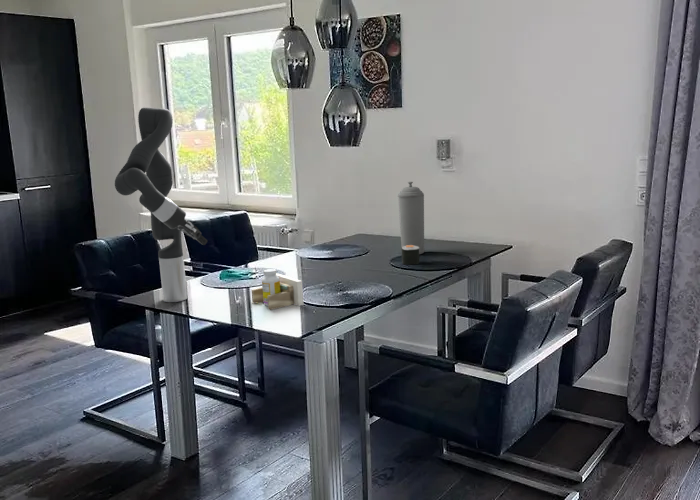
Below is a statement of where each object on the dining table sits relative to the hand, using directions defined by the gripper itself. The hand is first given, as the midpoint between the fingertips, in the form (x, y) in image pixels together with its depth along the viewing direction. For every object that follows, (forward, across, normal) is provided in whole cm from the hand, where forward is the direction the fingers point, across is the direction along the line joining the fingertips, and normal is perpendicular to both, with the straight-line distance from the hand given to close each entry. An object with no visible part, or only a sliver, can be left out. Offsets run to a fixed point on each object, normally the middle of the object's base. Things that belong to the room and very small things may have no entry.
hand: (205, 242), depth 238 cm
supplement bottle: (+34, -4, +3) cm, 35 cm away
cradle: (+34, -4, +2) cm, 35 cm away
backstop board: (+39, -4, -2) cm, 39 cm away
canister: (+102, +27, -65) cm, 124 cm away
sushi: (+91, +11, -54) cm, 107 cm away
